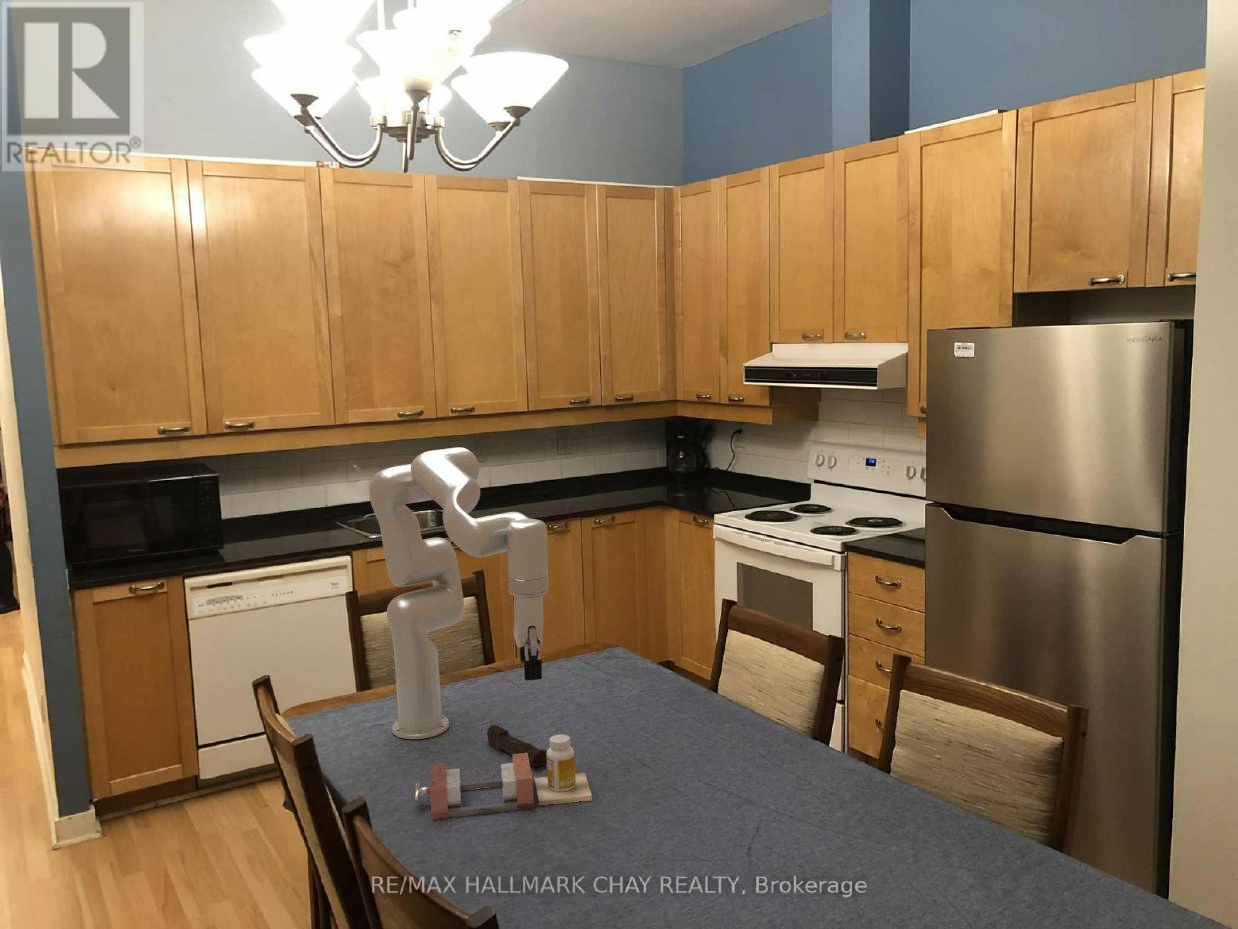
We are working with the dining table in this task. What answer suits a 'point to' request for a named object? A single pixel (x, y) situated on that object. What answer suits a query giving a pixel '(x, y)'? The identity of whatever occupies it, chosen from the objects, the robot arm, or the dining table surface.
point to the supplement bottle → (560, 764)
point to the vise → (449, 788)
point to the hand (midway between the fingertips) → (530, 670)
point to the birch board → (554, 797)
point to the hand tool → (516, 746)
